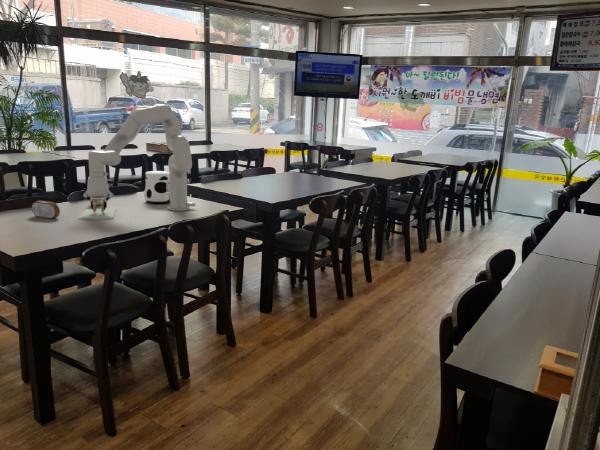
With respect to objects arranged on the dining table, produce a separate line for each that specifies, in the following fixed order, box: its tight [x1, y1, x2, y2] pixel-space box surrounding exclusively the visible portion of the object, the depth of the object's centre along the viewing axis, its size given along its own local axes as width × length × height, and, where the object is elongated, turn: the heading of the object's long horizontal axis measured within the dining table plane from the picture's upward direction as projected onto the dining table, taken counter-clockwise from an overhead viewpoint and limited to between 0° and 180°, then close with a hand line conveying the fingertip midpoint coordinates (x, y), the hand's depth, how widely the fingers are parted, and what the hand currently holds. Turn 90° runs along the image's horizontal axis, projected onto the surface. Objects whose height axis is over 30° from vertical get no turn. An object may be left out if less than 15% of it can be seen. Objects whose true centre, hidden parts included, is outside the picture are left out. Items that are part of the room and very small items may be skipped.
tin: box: [31, 200, 61, 220], centre depth 242 cm, size 15×3×8 cm, turn 74°
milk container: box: [143, 170, 170, 204], centre depth 293 cm, size 17×17×18 cm
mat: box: [78, 208, 118, 220], centre depth 256 cm, size 16×22×1 cm
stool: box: [93, 198, 105, 212], centre depth 255 cm, size 5×5×6 cm
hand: (98, 208), depth 255 cm, fingers closed on stool, 5 cm apart
